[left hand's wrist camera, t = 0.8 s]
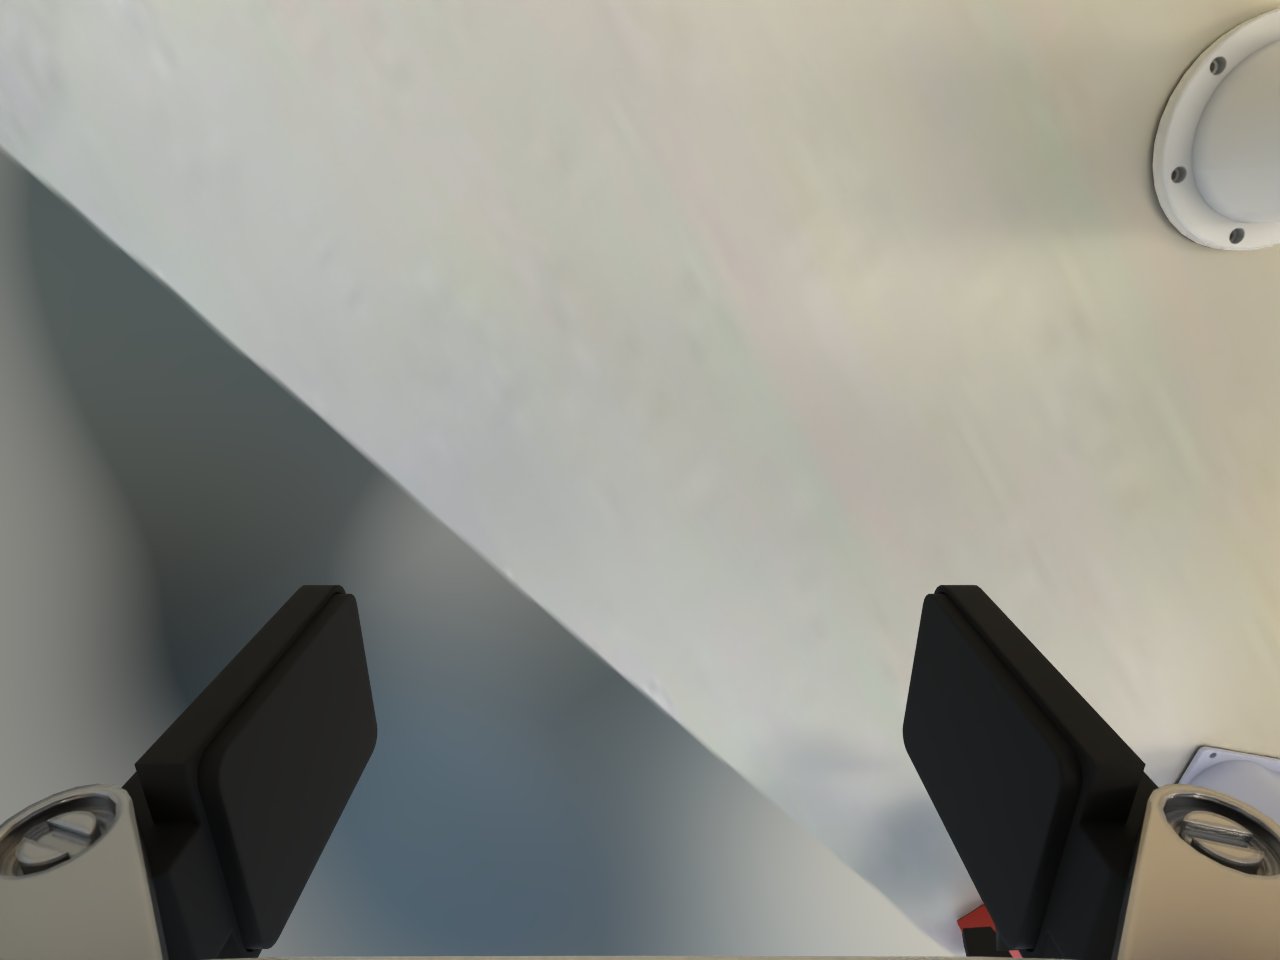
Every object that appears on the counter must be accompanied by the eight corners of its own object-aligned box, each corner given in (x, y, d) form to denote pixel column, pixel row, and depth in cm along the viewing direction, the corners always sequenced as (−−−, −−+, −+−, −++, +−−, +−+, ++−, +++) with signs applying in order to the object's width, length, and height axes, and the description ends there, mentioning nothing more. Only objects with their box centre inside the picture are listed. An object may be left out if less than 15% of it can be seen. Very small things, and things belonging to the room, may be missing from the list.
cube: (956, 921, 62) (979, 968, 58) (999, 894, 60) (1025, 941, 57) (983, 945, 63) (1007, 993, 59) (1026, 920, 62) (1053, 967, 58)
